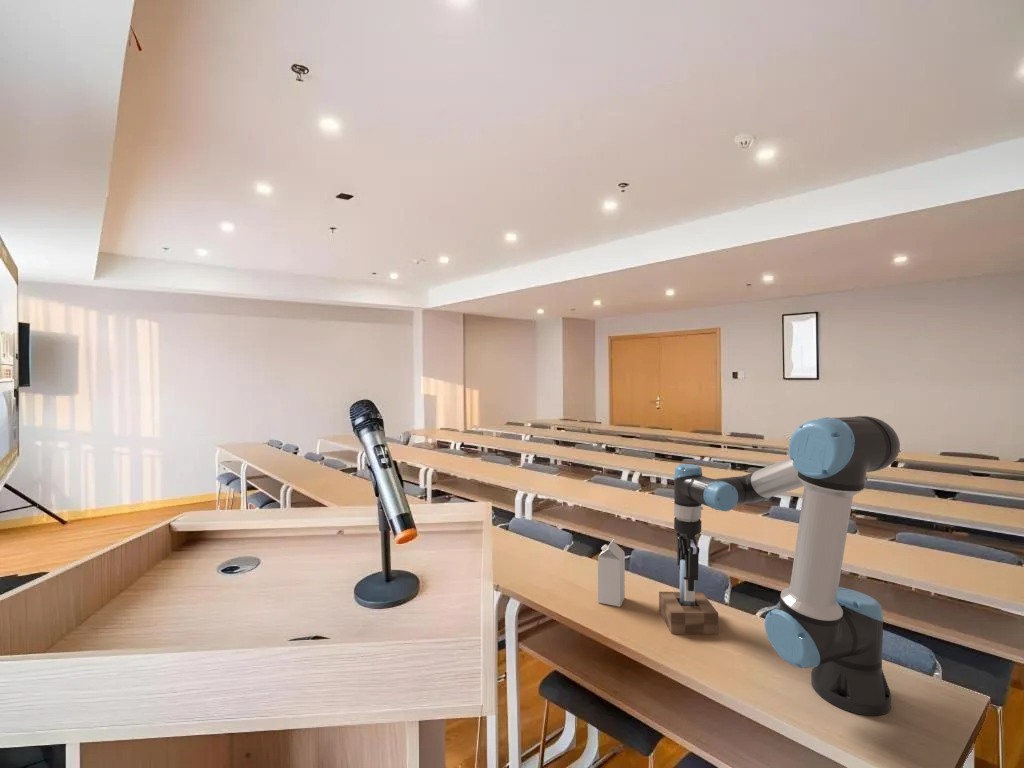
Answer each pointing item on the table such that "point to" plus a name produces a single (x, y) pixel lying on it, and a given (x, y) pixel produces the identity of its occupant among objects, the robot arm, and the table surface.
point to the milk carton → (611, 575)
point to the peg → (683, 585)
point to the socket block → (688, 614)
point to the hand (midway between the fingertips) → (687, 596)
